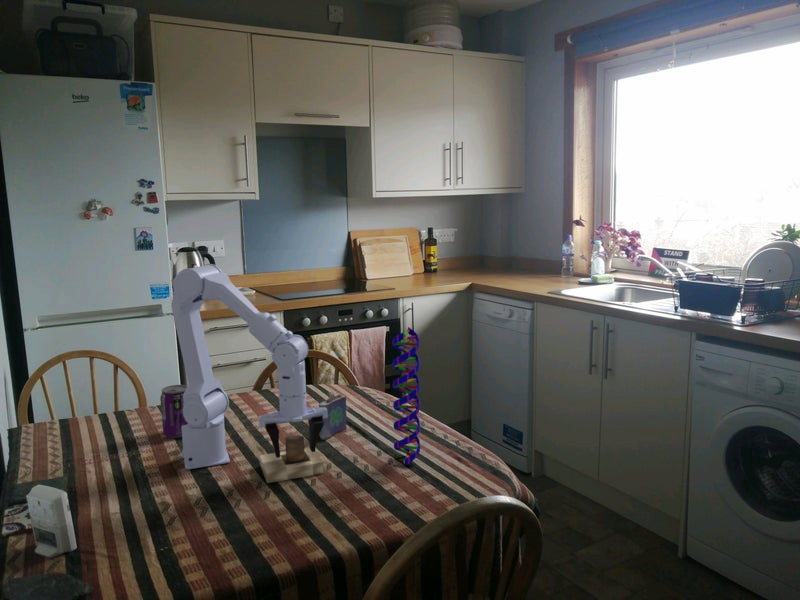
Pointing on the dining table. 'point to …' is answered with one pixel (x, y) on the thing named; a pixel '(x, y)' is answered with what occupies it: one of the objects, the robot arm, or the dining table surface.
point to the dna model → (407, 394)
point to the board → (290, 466)
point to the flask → (334, 416)
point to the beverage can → (173, 410)
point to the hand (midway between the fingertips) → (295, 453)
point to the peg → (294, 449)
